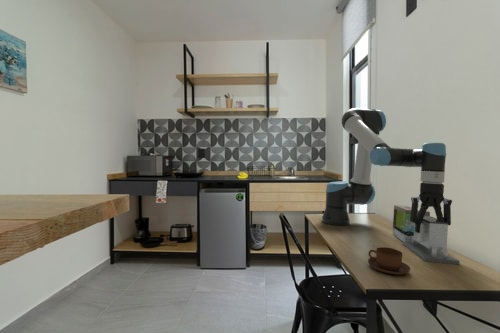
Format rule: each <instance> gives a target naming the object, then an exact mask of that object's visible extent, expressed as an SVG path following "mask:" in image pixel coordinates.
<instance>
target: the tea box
mask: <svg viewBox="0 0 500 333" xmlns="http://www.w3.org/2000/svg"><path fill="white" fill-rule="evenodd" d="M411 208H412V205H399V204H394V206H393V218H392V235H393V236H395V238H397V239H399V240H400V241H402V243H403V242H412V236H414V223H413V222H411V221H410V216H411ZM420 208H421V207H418V211H417V215H418V213H419V210H420ZM424 216H431V213H430V211H429V210H427V211H426V213H425V215H424ZM416 243H419V242H417V241H416Z"/></svg>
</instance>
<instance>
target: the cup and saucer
mask: <svg viewBox="0 0 500 333" xmlns="http://www.w3.org/2000/svg"><path fill="white" fill-rule="evenodd" d="M371 253H374V254H376V256H372V254H371ZM368 256H369V258H368V264H369V265H370V267H371V268H373V269H374V270H377V271H379V272H381V273H385V274H389V275H395V276H396V275H399V276H400V275H406V274H408V273H410V271H411V267H410V266H409V265H408V264H406V263H404V261H402V260H403V252H402V251H400V250H399V249H398V250H397V249H395V248H391V247H385V246H380V247H377V248H376V250H375V249H370V250H369V251H368Z"/></svg>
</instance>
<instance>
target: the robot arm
mask: <svg viewBox="0 0 500 333" xmlns="http://www.w3.org/2000/svg"><path fill="white" fill-rule="evenodd" d="M341 117H342V118H341V120H340V121H341V126H342V127H343V129H344V130H345V131H346V132H347V133H349V134H351V135H352V136H353V137H354V138H355V139H356V140H357V149H356V155H355V162H354V163H355V164H354V170H353V177H351V179H349V181H346V180H345V181H342V180H341V181H331V182H328V183H327V184H326V190H325V209H324V212H323V213H322V216H321V222H323V223H325V224H327V225H328V224H329V225H331V226H332V225H333V226H349V225H350V223H351V220H350V215H349V213H348V205H361V206H362V205H363V206H364V205H369V204H370V203H372V202H373V201H374V199H375V197H376V191H375V190H376V189H375V187H374V185H372V184H373V182H372V181H371V180H370V179H371V173H372V171H371V170H372V165H373V166H379V167H405V168H420V181H421V183H420V184H419V195H418V196H416V197H415V196H412V197H411V198H410V200H411V206H412V208H411V216H410V221H411V222H413V223H415V232H417V240H418V241H419V242H422V237H423V225H421V223H422V220H423V218H424V215H425V213H426V211H428V210H429V208H430V207H432V208H433V209H434V213H435V216H436V217H435V218H436V219H439V220H442V221H444V222H447V223H448V226H451V224H452V215H451V214H452V212H451V208H452V206H451V205H452V204H453V199H450V198H449V199H448V198H445V197H444V192H445V189H444V188H445V185H444V184H443V183H444V182H445V176H446V175H445V173H446V172H445V169H446V158H447V157H446V156H447V147H446V144H445V143H443V142H425V143H423V144H422V147H421V148H398V147H397V148H395V147H391V146H389V145H388V143H386V142H385V141H384V140H383V139H381V137H379V135H380V132H382V131H383V130H384V129H385V127H386V125H387V118H386V114H385V113H384V112H383V111H382V110H380V109H374V108H372V109H371V108H360V107H353V108H350V109H347V111H345V113H344V114H343V115H342V116H341ZM420 202H421V204H420V207H419V203H420ZM441 204H443V207H442V205H441ZM418 208H420V210H419V213H418V215H417V211H418ZM442 208H443V210H442ZM348 224H349V225H348Z"/></svg>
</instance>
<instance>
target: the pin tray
mask: <svg viewBox="0 0 500 333" xmlns="http://www.w3.org/2000/svg"><path fill="white" fill-rule="evenodd" d="M413 237H414V236H412V242H403V241H402V245H403V246H404V247H405V248H407V249H408V250H409V251H411V252H412V253H414V254H415V255H416V256H418V257H419V258H420V259H421V260H423V261H424V262H429V263H442V264H451V265H460V260H458V259H457V258H455V257H453V256H452V255H450V254H449V253H448V252H449V250H448V249H447V250H446V249H443V250H439V249H435V248H432V249H428V248H427V247H425V246H424V245H422V244H420V243H416V240H414V239H413Z"/></svg>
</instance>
